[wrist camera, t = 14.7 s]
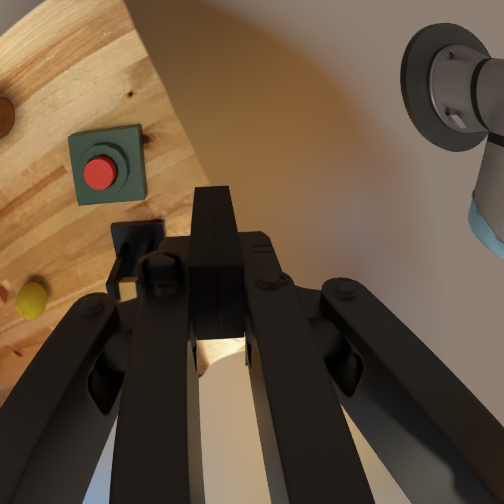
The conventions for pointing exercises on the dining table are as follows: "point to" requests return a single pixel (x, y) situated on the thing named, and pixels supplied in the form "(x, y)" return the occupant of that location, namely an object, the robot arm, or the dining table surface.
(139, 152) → the button housing
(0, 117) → the disposable coffee cup
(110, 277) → the switch bracket
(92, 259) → the dining table surface
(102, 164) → the button
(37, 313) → the lemon
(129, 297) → the switch lever
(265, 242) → the robot arm
